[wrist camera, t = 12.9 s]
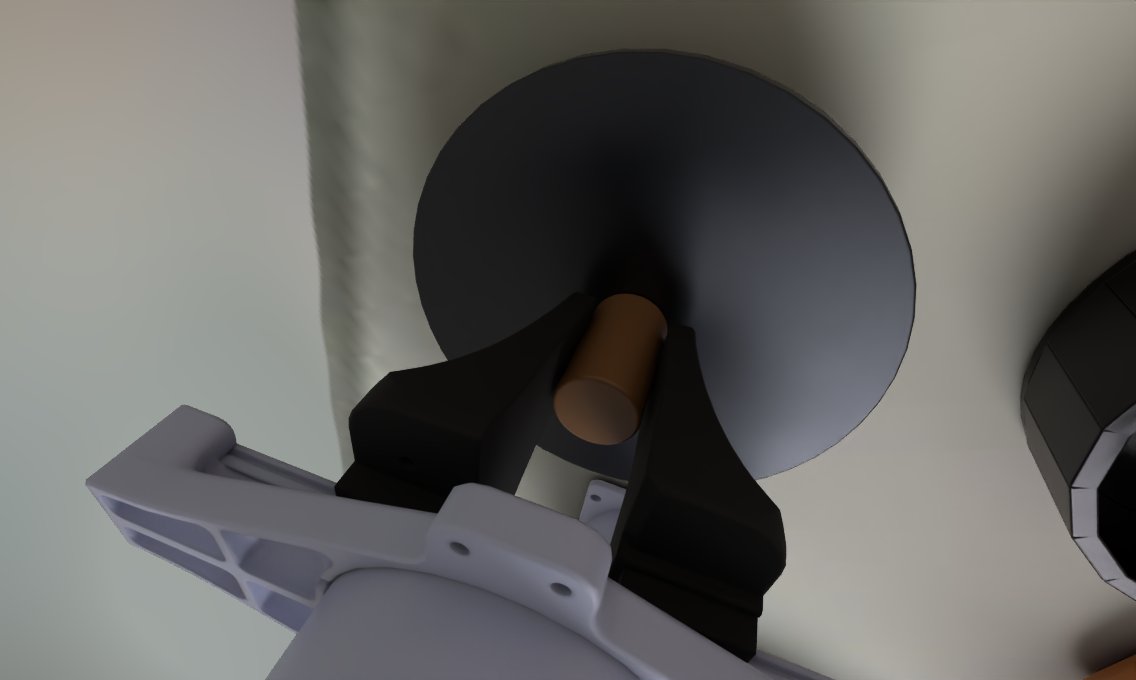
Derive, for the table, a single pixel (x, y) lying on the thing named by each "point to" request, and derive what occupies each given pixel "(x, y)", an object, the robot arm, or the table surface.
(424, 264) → the pan lid
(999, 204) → the table surface
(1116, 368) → the pan
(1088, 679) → the drumstick
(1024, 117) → the table surface
